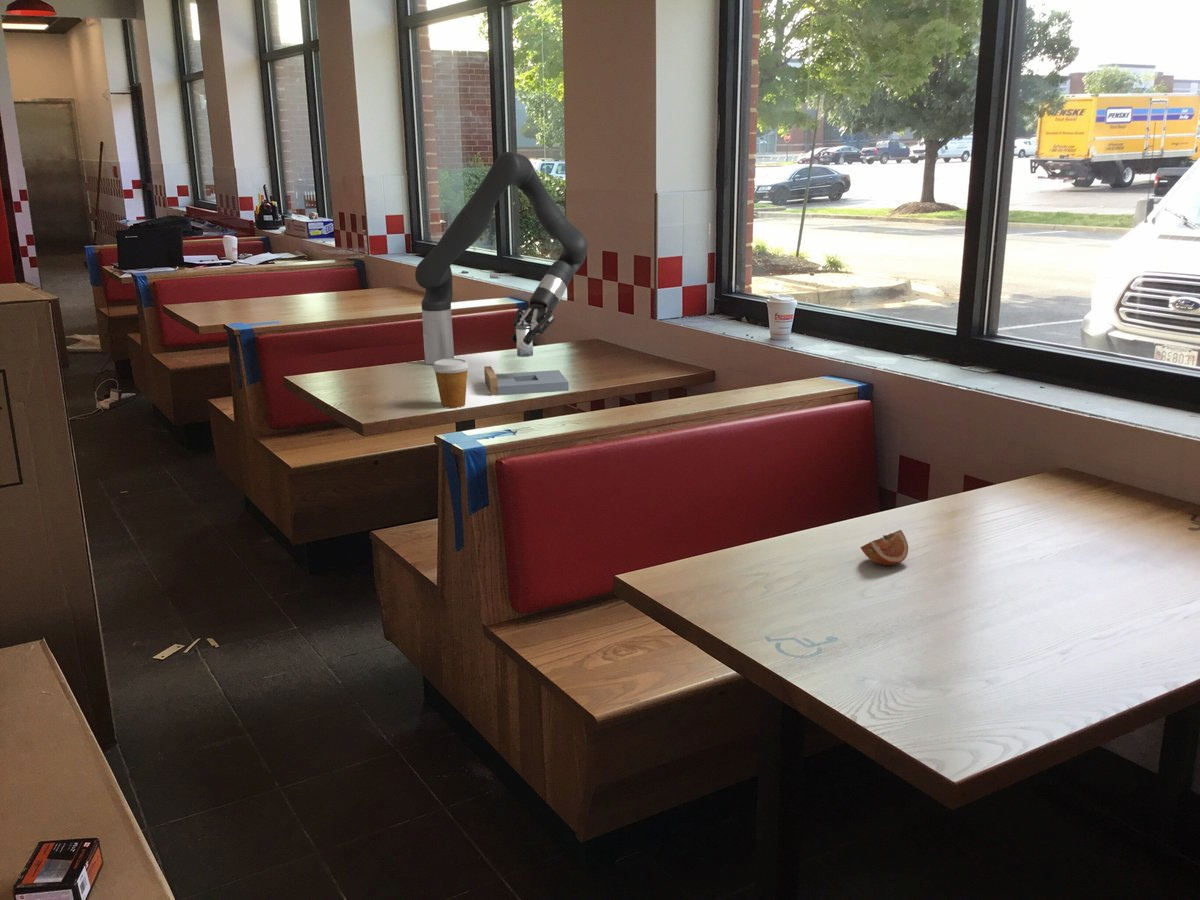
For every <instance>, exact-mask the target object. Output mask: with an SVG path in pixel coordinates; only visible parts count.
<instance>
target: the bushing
mask: <svg viewBox="0 0 1200 900" xmlns="http://www.w3.org/2000/svg"><path fill="white" fill-rule="evenodd" d="M530 328H531V325H529V324H521V325H516V328H515V329H516V343H515V344H516V356H517V357H518V358H519V357H520V358H529V357H533V356H534V344H533V343H534V341H533V340H534V339H533V340H532V342H531V343H530V344H529V345H526V344H525V343H524V342H523V339H524V338H525V336H526V334H527V333H528V331H529V330H530Z"/></svg>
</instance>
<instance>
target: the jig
mask: <svg viewBox="0 0 1200 900" xmlns="http://www.w3.org/2000/svg"><path fill="white" fill-rule="evenodd" d="M483 371H484V372H483V373H484V384H485V386H486V388H487V391H488V390H489V391H488V393H489V392H490V393H489V394H491V395H496V396H509V395H520V394H521V395H523V394H525V395H526V394H535V393H536V394H537V393H538V394H539V393H552V392H564V391H569V390H570V389H569V387H570V386H569V381H568V379H567V378H566V377H565V376H564V374H562V372H561V371H560V369H557V370H556V369H555V370H540V371H539V370H538V371H537V370H536V371H524V372H510V373H509V372H507V373H495V371H494V369H493V367H492V365H489V366H485V365H484V366H483ZM491 395H490V396H491Z"/></svg>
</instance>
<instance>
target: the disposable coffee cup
mask: <svg viewBox="0 0 1200 900" xmlns="http://www.w3.org/2000/svg"><path fill="white" fill-rule="evenodd" d="M469 366H470V364H468V360H467V359H464V358H454V359H442V360H438V361H435V362H434V365H433V366H432V369H433V371H434V373H435V379H436V383H437V389H438V394H439V399H440V404H441V407H442V406H443V407H442V408H444V407H449V408H448V409H458V408H457V407H460V408H462V407H461V406H463V407H465V406H464V405H466V399H467V398H466V396H467V385H468V384H467V382H468V370H469Z"/></svg>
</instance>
